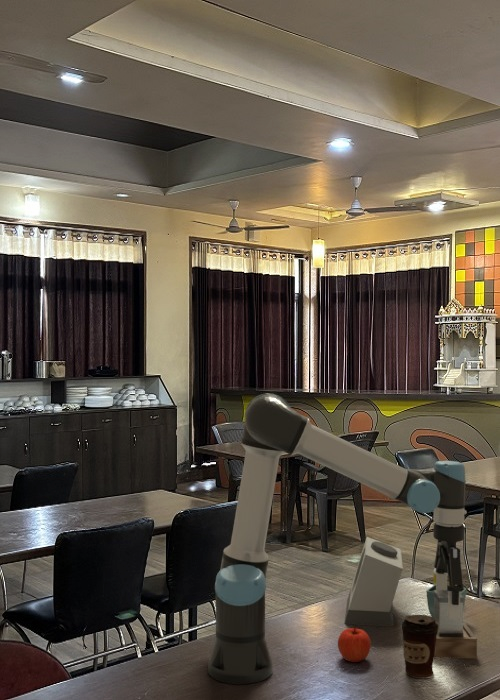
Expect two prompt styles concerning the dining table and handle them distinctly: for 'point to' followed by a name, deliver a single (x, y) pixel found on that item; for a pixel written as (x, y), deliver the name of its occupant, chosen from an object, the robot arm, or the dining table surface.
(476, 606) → the dining table surface
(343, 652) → the apple
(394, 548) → the alarm clock
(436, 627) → the coffee cup
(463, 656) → the walnut stand
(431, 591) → the flower pot
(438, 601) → the block
